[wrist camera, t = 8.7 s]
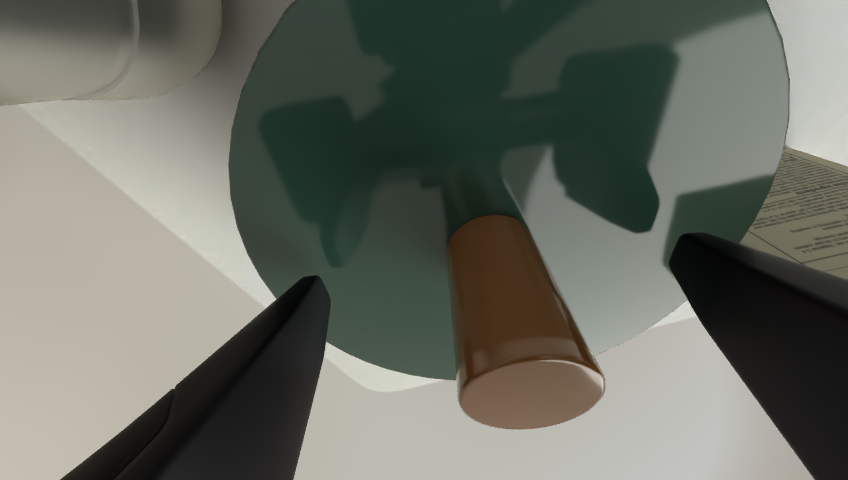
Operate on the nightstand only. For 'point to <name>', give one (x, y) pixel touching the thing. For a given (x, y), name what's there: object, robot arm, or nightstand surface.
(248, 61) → the nightstand surface
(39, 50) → the silver bottle
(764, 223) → the cosmetic box
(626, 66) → the lid
